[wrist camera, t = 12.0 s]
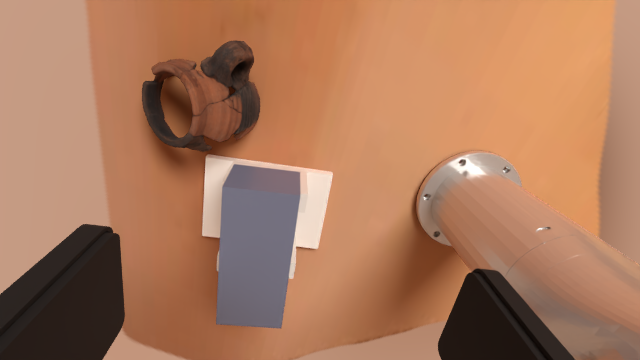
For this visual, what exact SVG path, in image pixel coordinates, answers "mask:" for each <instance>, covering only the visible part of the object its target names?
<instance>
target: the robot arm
mask: <svg viewBox="0 0 640 360" xmlns="http://www.w3.org/2000/svg"><path fill="white" fill-rule="evenodd" d="M460 160H461V161H460ZM459 161H460V162H459ZM425 194H426V195H425ZM416 213H417V216H418V220H419V222H420V224H421V226H422V227H423V229H424V230H425V232H426V233H427V234H428V235H429V236H430V237H431V238H432V239H434V240H435V241H437V242H439V243H441V244H444V245H448V246H452V247H453V248H454V249H455V251H456V252H457V253H458V255H459V256H460V257H461V259H462V260H463V261H464V263H465V264H466V265H467V267H468V268H469V270H470V271H471V272H472V273H468V274H467V276H466V278H465V280H464V282H463V285H462V287H461V289H460V292H459V294H458V296H457V299H456V301H455V304H454V306H453V308H452V311H451V313H450V315H449V318H448V320H447V322H446V325H445V328H444V330H443V332H442V334H441V337H440V339H439V342H438V351H439V355H440V357H441V359H442V360H640V264H638V263H637V262H635V261H633V260H632V259H630V258H628V257H627V256H625V255H624V254H622V253H621V252H619V251H618V250H616V249H615V248H613V247H612V246H610V245H609V244H607V243H606V242H604V241H602V240H601V239H599V238H598V237H596V236H595V235H593V234H592V233H590V232H589V231H587V230H586V229H584V228H583V227H581V226H580V225H578V224H577V223H575V222H574V221H572V220H571V219H569V218H568V217H566V216H565V215H563V214H562V213H560V212H559V211H557V210H556V209H554V208H552V207H551V206H549V205H548V204H546V203H545V202H543V201H542V200H540V199H539V198H537V197H536V196H534V195H533V194H531V193H530V192H528V191H527V190H525V189H524V188H522V183H521V179H520V176H519V174H518V172H517V170H516V169H515V167H514V166H513V165H512V164H511V163H510V162H508V161H507V160H506V159H504V158H502V157H501V156H499V155H496V154H494V153H491V152H486V151H468V152H463V153H459V154H457V155H454V156H452V157H450V158H448V159H446V160H445V161H443V162H441V163H440V164H439V165H438V166H437V167H435V168H434V169H433V170H432V171H431V172H430V173H429V175H428V176H427V177H426V178H425V180H424V182H423V183H422V185H421V187H420V190H419V193H418V195H417V201H416ZM124 317H125V312H124V296H123V281H122V265H121V250H120V238H119V235H118V234H116V233H113V230H112V228H110V227H107V226H98V225H89V224H83V225H81V226H80V227H79V228H77V229H76V230H75V231H74V232H73V233H72V234H70V235H69V236H68V237H67V238H66V239H65V240H63V241H62V242H61V243H60V244H59V245H58V246H56V247H55V248H54V249H53V250H52V251H51V252H49V253H48V254H47V255H46V256H45V257H44V258H43V259H41V260H40V261H39V262H38V263H36V264H35V265H34V266H33V267H32V268H31V269H30V270H29V271H27V272H26V273H25V274H24V275H22V276H21V277H20V278H19V279H18V280H17V281H15V282H14V283H13V284H12V285H11V286H10V287H9V288H7V289H6V290H5V291H4V292H3V293H1V294H0V360H102V359H103V358H104V356H105V354H106V353H107V351H108V349H109V348H110V346H111V345H112V343H113V341H114V340H115V338H116V337H117V335H118V333H119V332H120V330H121V328H122V325H123V322H124Z"/></svg>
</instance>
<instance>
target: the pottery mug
mask: <svg viewBox="0 0 640 360" xmlns="http://www.w3.org/2000/svg"><path fill="white" fill-rule="evenodd" d="M253 63H254V57H253V52H252V50H251V48H250V47H249V46H248V45H247V44H246V43H245V42H244V41H229V42H227V43H225V44H223V45H222V46H221V47H220V48H219V49H217V50H216V52H215V53H214V55H213V56H212V57H207V58H206V59H205V60H203V61H202V62H201V65H200V66H201V69H202V71H203V72H201V71H197V70H195V67H196V63H195V62H193V61H189V60H184V59H174V60H168V61H167V62H162V63H158V64H156V65H154V66H153V67H152V72H153V74H154V75H156V76H155V79H154V81H145V82H144V83H143V88H142V102H143V108H144V112H145V115H146V116H147V120H148V123H149V125H150V127H151V128H152V130H153V132H154V133H155V134H156V136H157V137H158V138H159V139H160V140H161V141H163V142H164V143H165V144H168V145H170V146H173V147H181V148H189V149H192V150H199V151H202V152H204V151H208V150H211V149H212V147H211V146H209V145H206V143H205V141H204V137H203V136H206V137H207V138H211V139H212V140H215V141H218V142H222V141H225V140H228V139H229V138H230V137H231V135H232V134H236V135H235V136H234V138H235V139H236V140H237V139H240V138H242V137H243V136H244V135H246V134H247V133H248V132H250V131H251V130H252V128H253V127H254V126H255V124H256V122H257V120H258V117H259V112H260V98H259V94H258V91H257V89H256V86H255V84H254V83H251V82H249V81H248V80H249V72H250V69H251V67H252V65H253ZM172 75H175V76H176V77H178V78H179V79H181V81H182V83H183V84H184V86H185V88H186V90H187V92H188V94H189V97H190V100H191V105H192V113H193V116H192V123H191V126H190V129H189V132H188V133H187V134H186V135H185V136H184V137H182V138H178V137H176V136H175V135H174V134H173V132H172V131H171V129H170V128H169V126H168V124H167V123H166V122H165V120H164V118H165V117H164V113H163V110H162V106H161V101H160V96H161V89H162V85H163V82H164V80H165V79H166V78H168V77H170V76H172ZM228 87H232V88H233V89H234V90H236V92H235V93H234V94H232V95H231V96H229V89H228Z"/></svg>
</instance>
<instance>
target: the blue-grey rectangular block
mask: <svg viewBox="0 0 640 360" xmlns="http://www.w3.org/2000/svg"><path fill="white" fill-rule="evenodd" d="M299 202H300V172H296V171H288V170H280V169H271V168H263V167H255V166H246V165H238V164H234V165H233V167H232V169H231V171H230V173H229V175H228V177H227V179H226V180H225V182H224V184H223V186H222V204H221V227H220V249H219V272H218V294H217V317H216V324H221V325H236V326H252V327H267V328H281V326H282V320H283V313H284V306H285V299H286V292H287V285H288V278H289V271H290V264H291V257H292V251H293V244H294V237H295V230H296V223H297V216H298V209H299Z"/></svg>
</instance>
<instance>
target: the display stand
mask: <svg viewBox="0 0 640 360" xmlns="http://www.w3.org/2000/svg"><path fill="white" fill-rule="evenodd" d="M234 164H238V165H246V166H255V167H263V168H271V169H280V170H288V171H296V172H300V202H299V209H298V216H297V223H296V230H295V237H294V244H293V251H292V257H291V264H290V271H289V278H292V279H293V276H294V271H295V265H296V247H305V248H314V249H318V246H319V241H320V236H321V231H322V226H323V221H324V216H325V211H326V207H327V202H328V197H329V192H330V187H331V182H332V177H333V174H332V172H329V171H322V170H315V169H308V168H301V167H294V166H287V165H280V164H273V163H266V162H259V161H252V160H245V159H238V158H231V157H224V156H217V155H210V154H208V155H207V156H206V162H205V183H204V205H203V227H202V236H208V237H217V238H220V227H221V204H222V186H223V184H224V182H225V180H226V179H227V177H228V175H229V173H230V171H231V169H232V167H233V165H234ZM216 271H219V252H218V255H217V268H216Z"/></svg>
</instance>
